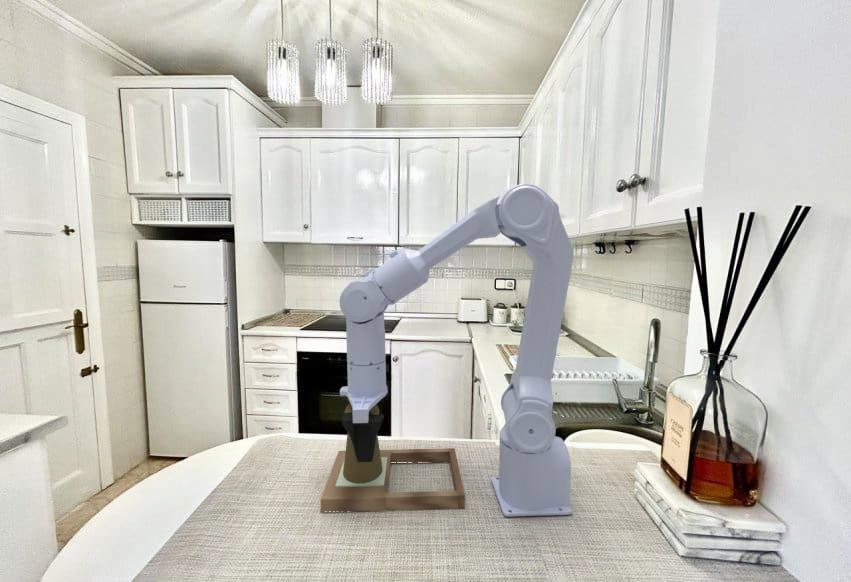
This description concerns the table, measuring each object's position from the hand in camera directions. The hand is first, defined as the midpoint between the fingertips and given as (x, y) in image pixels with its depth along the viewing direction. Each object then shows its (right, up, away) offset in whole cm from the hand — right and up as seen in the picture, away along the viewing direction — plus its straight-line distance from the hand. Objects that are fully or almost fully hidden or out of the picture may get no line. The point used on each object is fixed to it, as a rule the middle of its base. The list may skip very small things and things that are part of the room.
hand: (368, 446), depth 54 cm
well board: (+4, -6, +1) cm, 7 cm away
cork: (-1, -4, 0) cm, 4 cm away
